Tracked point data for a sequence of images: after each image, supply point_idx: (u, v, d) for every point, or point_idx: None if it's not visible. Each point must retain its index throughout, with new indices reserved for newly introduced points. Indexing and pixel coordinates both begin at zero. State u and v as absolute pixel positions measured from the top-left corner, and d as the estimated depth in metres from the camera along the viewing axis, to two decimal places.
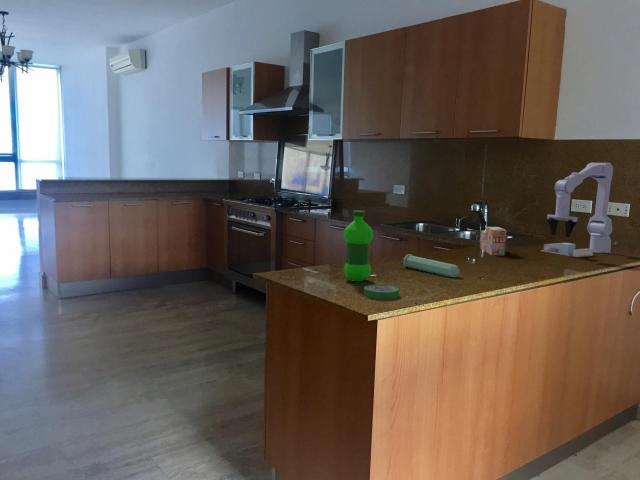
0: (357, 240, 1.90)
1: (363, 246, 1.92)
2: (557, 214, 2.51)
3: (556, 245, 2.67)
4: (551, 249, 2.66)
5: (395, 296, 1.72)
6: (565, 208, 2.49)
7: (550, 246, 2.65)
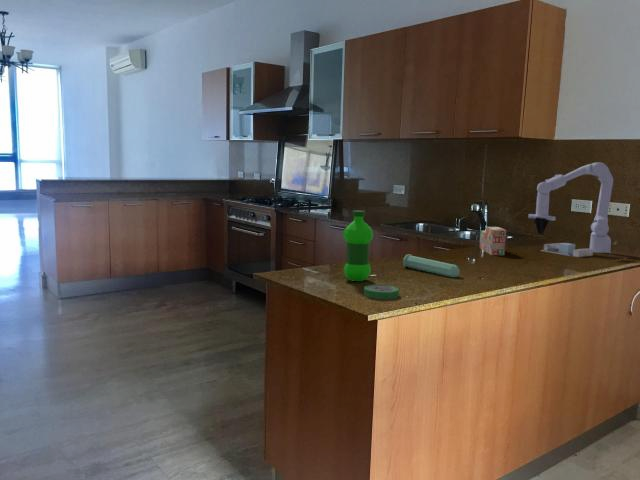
0: (357, 240, 1.90)
1: (363, 246, 1.92)
2: (537, 213, 2.71)
3: (556, 245, 2.67)
4: (551, 249, 2.66)
5: (395, 296, 1.72)
6: (544, 208, 2.69)
7: (550, 246, 2.65)
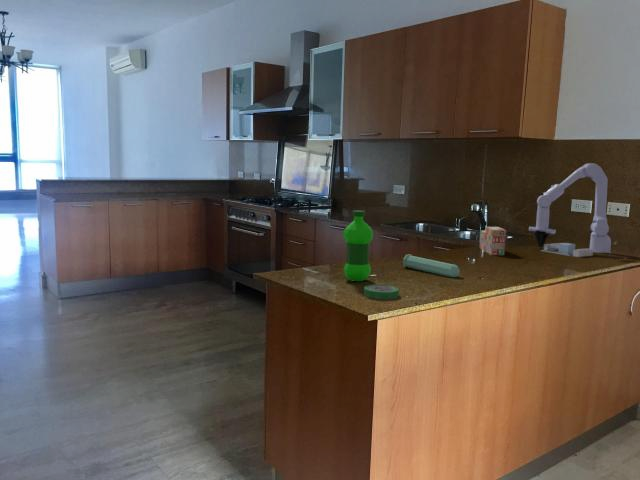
0: (357, 240, 1.90)
1: (363, 246, 1.92)
2: (537, 227, 2.71)
3: (556, 245, 2.67)
4: (551, 249, 2.66)
5: (395, 296, 1.72)
6: (544, 221, 2.69)
7: (550, 246, 2.65)
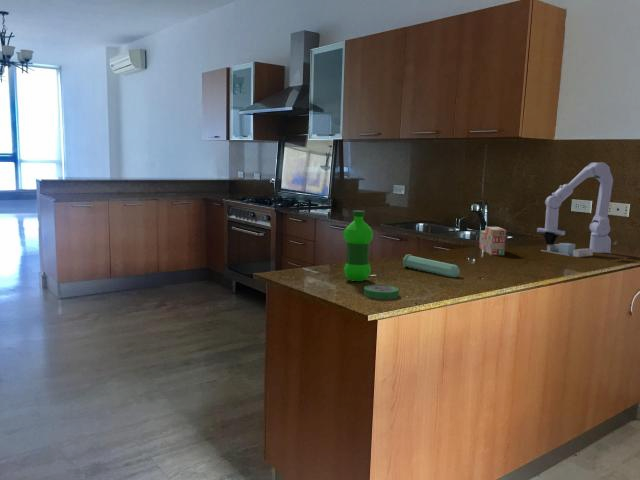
0: (357, 240, 1.90)
1: (363, 246, 1.92)
2: (546, 228, 2.67)
3: None
4: (554, 250, 2.65)
5: (395, 296, 1.72)
6: (554, 222, 2.65)
7: (553, 247, 2.64)
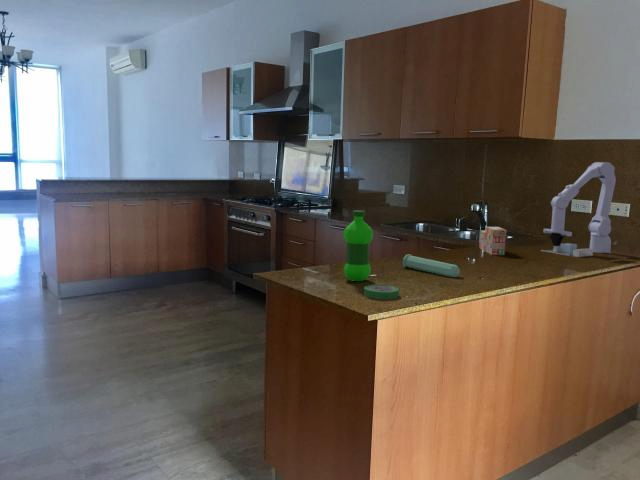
0: (357, 240, 1.90)
1: (363, 246, 1.92)
2: (553, 229, 2.64)
3: None
4: None
5: (395, 296, 1.72)
6: (560, 223, 2.61)
7: (560, 248, 2.61)
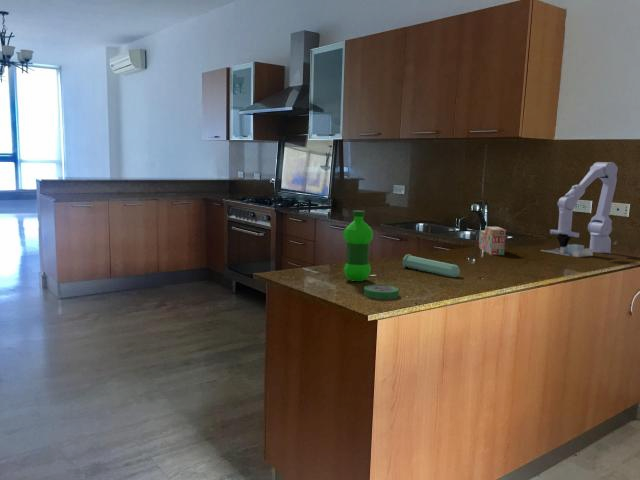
0: (357, 240, 1.90)
1: (363, 246, 1.92)
2: (560, 229, 2.60)
3: None
4: None
5: (395, 296, 1.72)
6: (567, 224, 2.58)
7: (566, 249, 2.58)
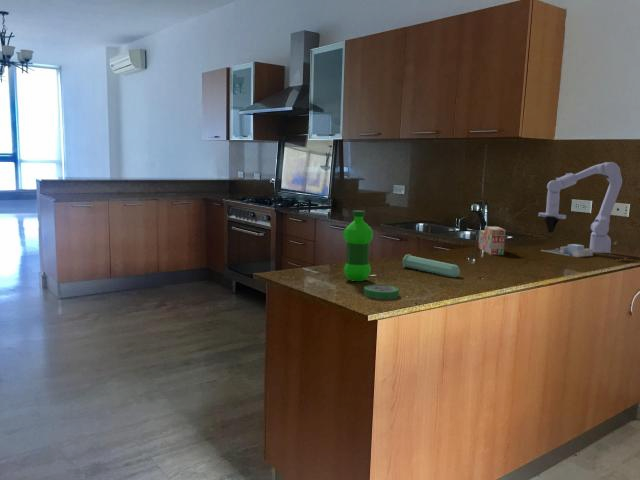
0: (357, 240, 1.90)
1: (363, 246, 1.92)
2: (547, 212, 2.69)
3: None
4: None
5: (395, 296, 1.72)
6: (555, 206, 2.67)
7: (566, 249, 2.58)
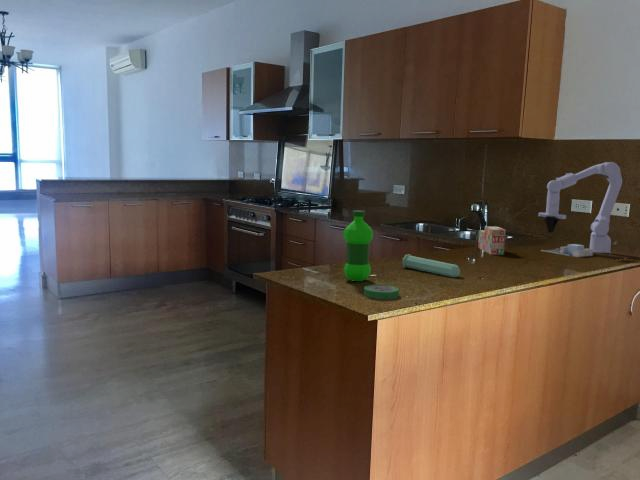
0: (357, 240, 1.90)
1: (363, 246, 1.92)
2: (547, 212, 2.69)
3: None
4: None
5: (395, 296, 1.72)
6: (555, 206, 2.67)
7: (566, 249, 2.58)
